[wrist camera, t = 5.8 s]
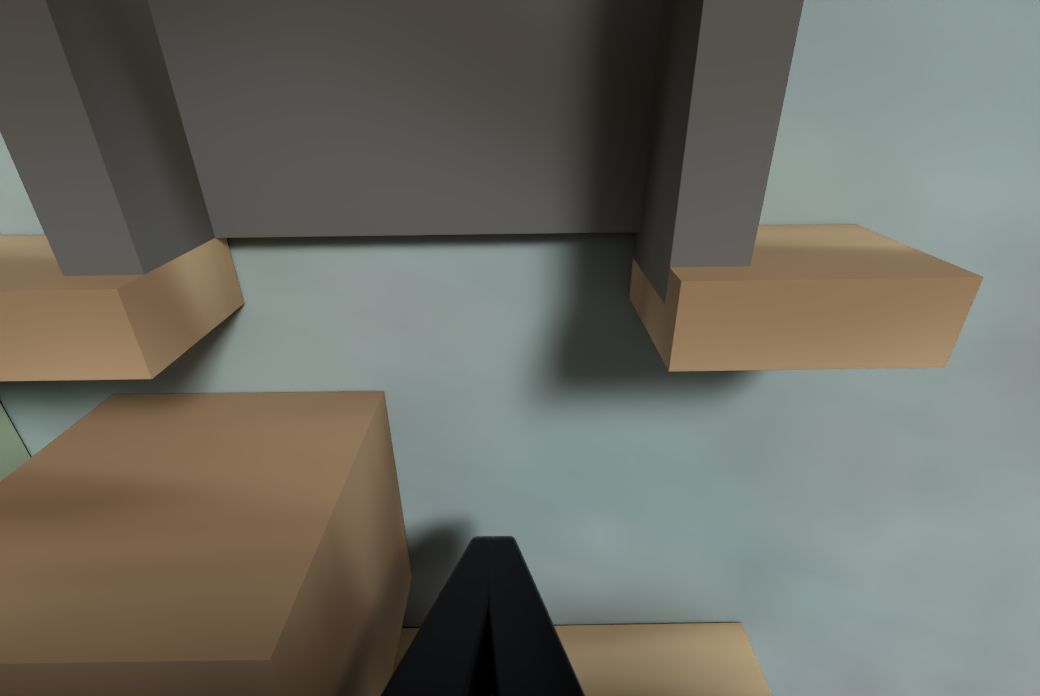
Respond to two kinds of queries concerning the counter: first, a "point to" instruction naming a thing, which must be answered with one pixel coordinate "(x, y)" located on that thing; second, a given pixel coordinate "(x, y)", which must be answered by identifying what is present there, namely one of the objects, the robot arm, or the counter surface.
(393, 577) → the walnut block
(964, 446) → the counter surface
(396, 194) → the channel
